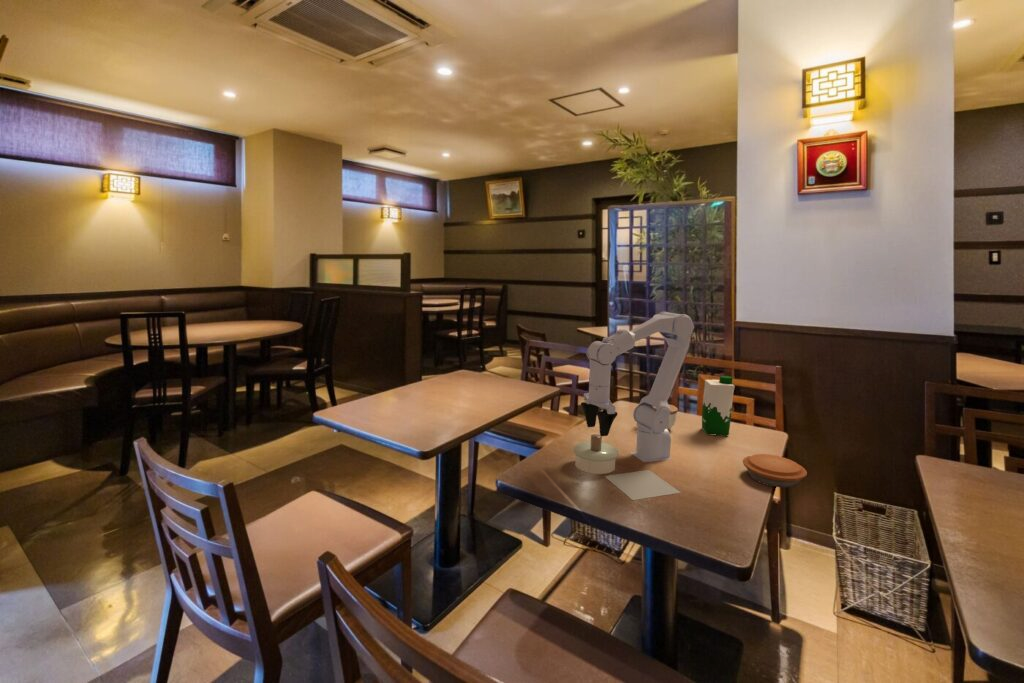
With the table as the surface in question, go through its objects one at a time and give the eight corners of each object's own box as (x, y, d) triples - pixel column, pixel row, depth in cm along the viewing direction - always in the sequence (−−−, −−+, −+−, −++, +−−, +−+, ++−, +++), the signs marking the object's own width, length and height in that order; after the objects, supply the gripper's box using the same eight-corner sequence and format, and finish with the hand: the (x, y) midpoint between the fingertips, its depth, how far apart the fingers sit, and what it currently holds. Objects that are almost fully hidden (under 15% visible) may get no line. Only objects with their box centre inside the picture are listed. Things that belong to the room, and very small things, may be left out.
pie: (819, 491, 125) (821, 473, 124) (762, 492, 124) (764, 473, 123) (781, 466, 140) (783, 450, 139) (730, 467, 139) (732, 450, 138)
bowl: (602, 457, 144) (603, 443, 143) (622, 472, 133) (623, 457, 133) (569, 461, 140) (569, 447, 140) (586, 477, 130) (587, 462, 129)
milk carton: (732, 437, 163) (737, 380, 160) (704, 435, 165) (709, 378, 161) (724, 428, 172) (729, 374, 169) (698, 427, 173) (702, 373, 170)
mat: (648, 472, 134) (648, 469, 134) (680, 494, 121) (681, 492, 121) (604, 478, 130) (604, 476, 130) (632, 502, 117) (632, 500, 117)
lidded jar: (678, 434, 165) (680, 408, 164) (645, 431, 167) (647, 405, 166) (674, 424, 176) (675, 399, 174) (643, 422, 178) (645, 397, 176)
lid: (606, 442, 144) (607, 427, 143) (625, 459, 132) (626, 442, 131) (567, 445, 141) (568, 430, 140) (583, 462, 129) (584, 445, 128)
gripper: (575, 379, 140) (573, 424, 142) (599, 392, 126) (597, 441, 128) (596, 377, 142) (594, 422, 144) (623, 390, 128) (620, 438, 131)
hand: (597, 431), depth 136 cm, fingers open, 7 cm apart
